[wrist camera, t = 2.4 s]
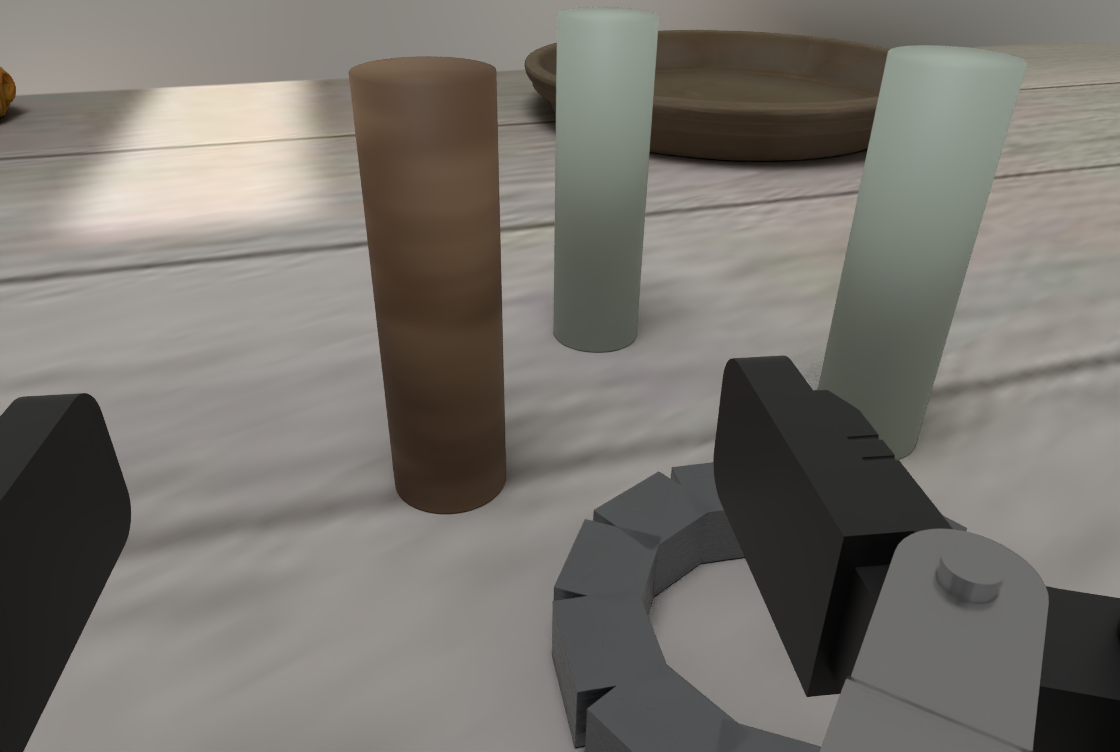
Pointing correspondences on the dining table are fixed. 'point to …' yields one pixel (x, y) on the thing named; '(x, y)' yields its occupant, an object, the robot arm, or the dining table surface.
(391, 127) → the walnut dowel
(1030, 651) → the robot arm
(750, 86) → the plant saucer
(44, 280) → the dining table surface
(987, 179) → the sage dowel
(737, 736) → the ring
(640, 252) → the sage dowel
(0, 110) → the croissant
